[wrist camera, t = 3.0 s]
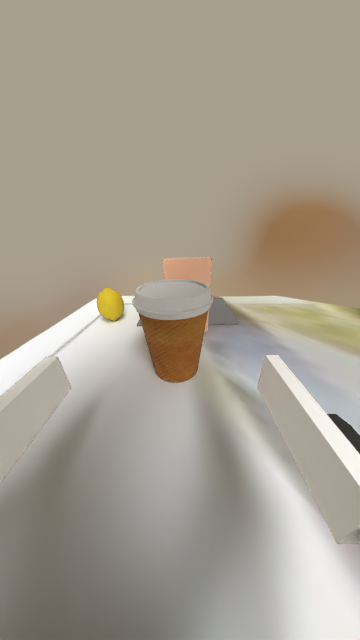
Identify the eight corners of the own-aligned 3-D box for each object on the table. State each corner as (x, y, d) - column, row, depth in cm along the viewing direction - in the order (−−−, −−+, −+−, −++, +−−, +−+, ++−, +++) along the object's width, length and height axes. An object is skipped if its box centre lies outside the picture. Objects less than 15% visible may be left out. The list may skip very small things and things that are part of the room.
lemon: (110, 328, 36) (101, 292, 32) (97, 322, 39) (88, 288, 35) (131, 319, 40) (125, 286, 36) (117, 314, 43) (111, 283, 39)
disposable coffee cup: (130, 370, 24) (113, 290, 19) (173, 341, 31) (169, 275, 25) (181, 407, 19) (178, 308, 13) (220, 362, 25) (228, 284, 20)
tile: (206, 326, 36) (209, 256, 29) (207, 331, 34) (211, 258, 27) (168, 327, 36) (164, 258, 30) (168, 332, 34) (163, 259, 28)
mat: (222, 299, 50) (222, 298, 50) (238, 324, 36) (238, 322, 36) (149, 301, 51) (149, 299, 51) (137, 326, 37) (137, 324, 36)
